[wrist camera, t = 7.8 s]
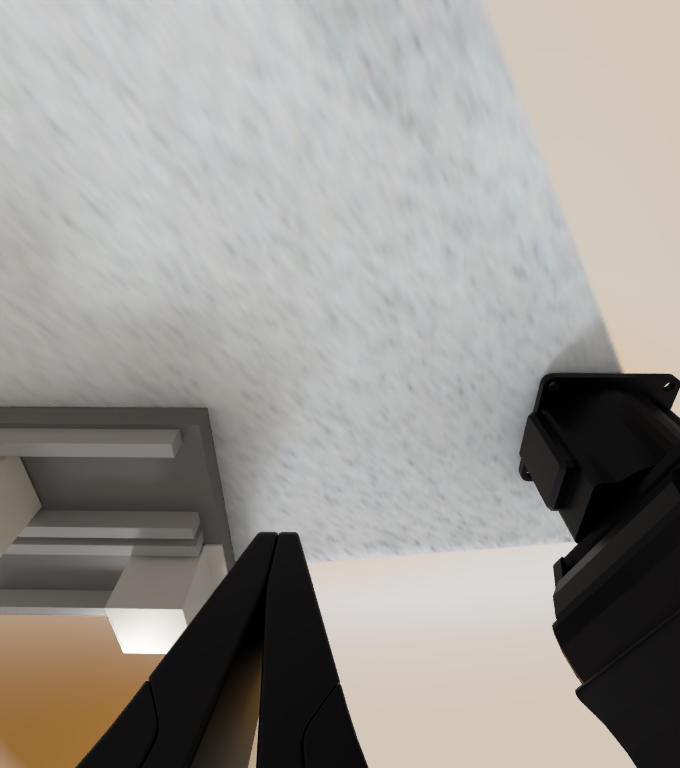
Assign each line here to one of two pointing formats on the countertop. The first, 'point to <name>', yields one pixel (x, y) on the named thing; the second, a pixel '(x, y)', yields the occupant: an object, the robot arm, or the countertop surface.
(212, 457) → the switch board
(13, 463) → the beige cube
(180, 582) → the light grey cube
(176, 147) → the countertop surface
